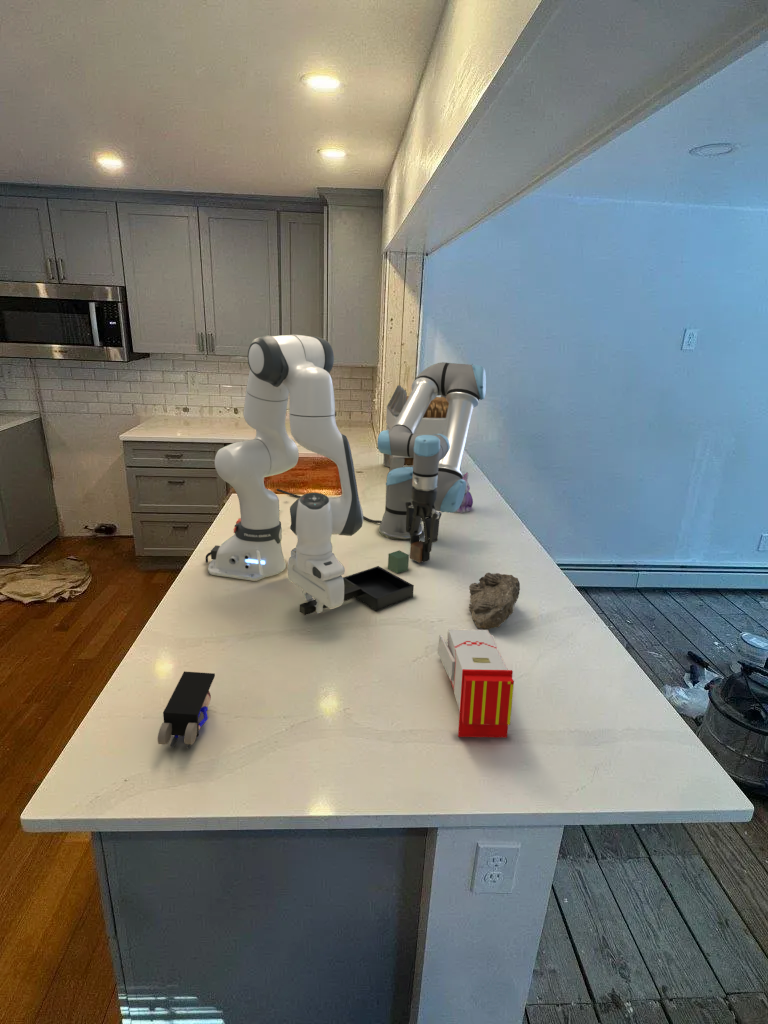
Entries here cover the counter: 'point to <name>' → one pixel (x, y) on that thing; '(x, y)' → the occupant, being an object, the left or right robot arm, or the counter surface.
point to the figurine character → (186, 708)
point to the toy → (478, 682)
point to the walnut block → (416, 551)
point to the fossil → (493, 599)
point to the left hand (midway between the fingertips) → (314, 608)
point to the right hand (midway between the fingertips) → (419, 557)
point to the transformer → (427, 426)
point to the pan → (371, 590)
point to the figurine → (466, 498)
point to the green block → (398, 561)
